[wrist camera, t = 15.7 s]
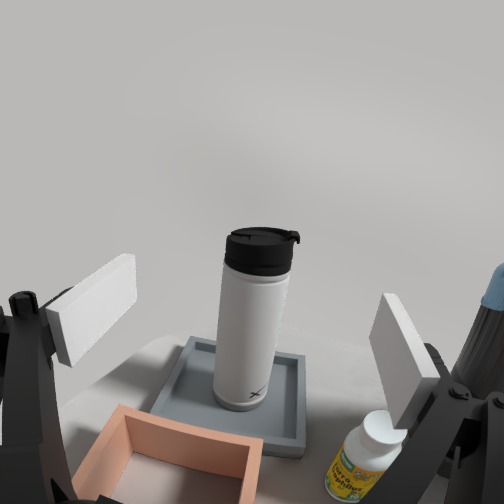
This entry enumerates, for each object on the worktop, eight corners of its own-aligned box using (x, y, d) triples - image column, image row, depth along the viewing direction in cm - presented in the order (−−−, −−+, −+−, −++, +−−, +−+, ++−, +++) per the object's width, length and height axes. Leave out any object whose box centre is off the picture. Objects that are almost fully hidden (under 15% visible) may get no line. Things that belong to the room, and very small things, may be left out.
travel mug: (267, 416, 32) (303, 244, 25) (208, 407, 32) (222, 233, 25) (269, 380, 38) (298, 225, 31) (217, 373, 38) (232, 216, 31)
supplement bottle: (382, 482, 23) (425, 425, 20) (351, 513, 20) (395, 461, 17) (345, 456, 27) (378, 395, 24) (311, 482, 24) (342, 425, 21)
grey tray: (301, 367, 42) (305, 355, 41) (300, 458, 27) (305, 447, 26) (190, 348, 43) (190, 335, 42) (149, 429, 28) (147, 416, 27)
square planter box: (254, 472, 25) (263, 439, 23) (233, 587, 13) (240, 577, 11) (127, 441, 26) (118, 403, 24) (76, 537, 14) (51, 512, 12)
